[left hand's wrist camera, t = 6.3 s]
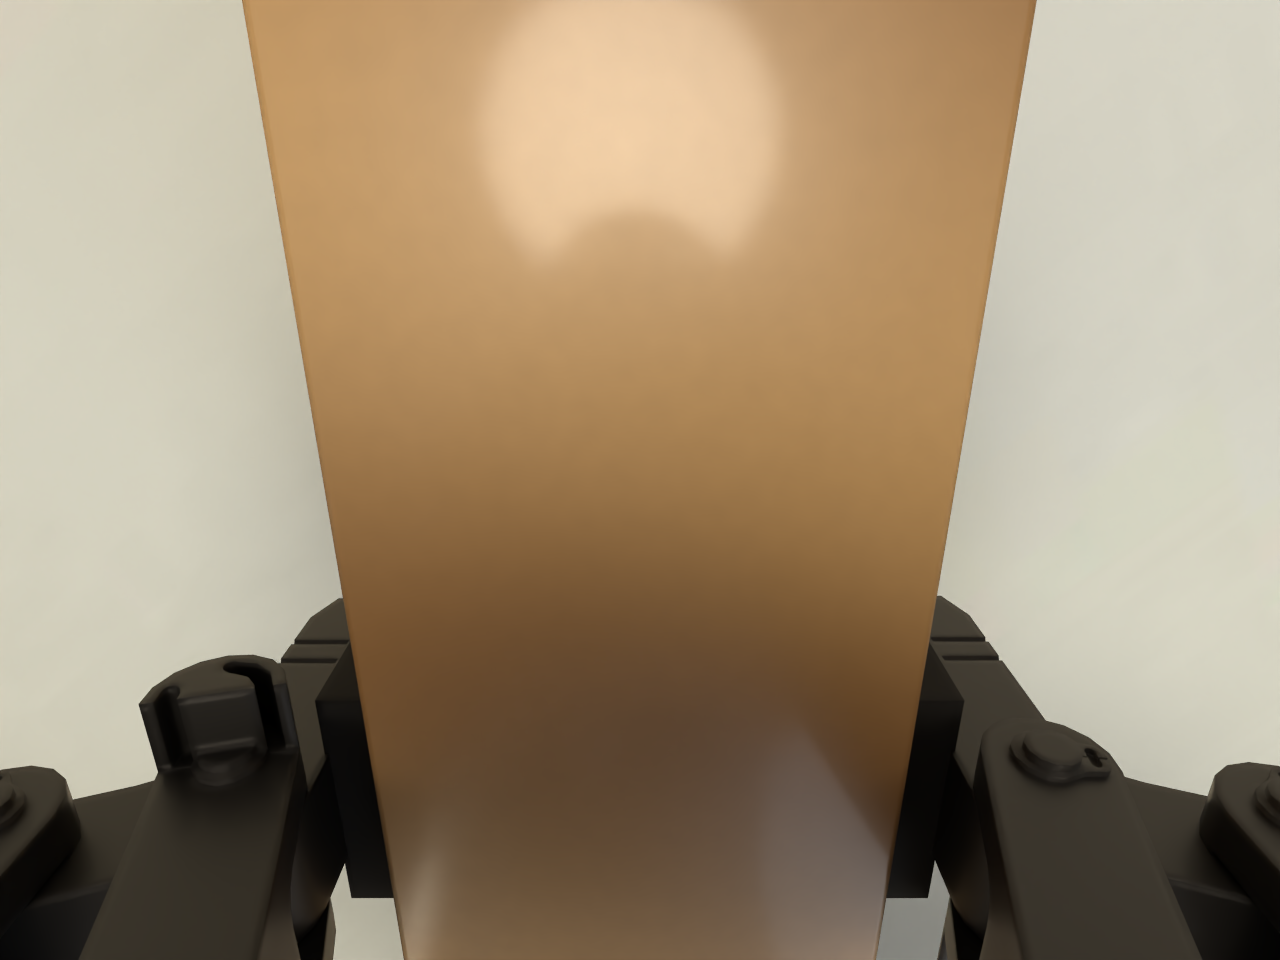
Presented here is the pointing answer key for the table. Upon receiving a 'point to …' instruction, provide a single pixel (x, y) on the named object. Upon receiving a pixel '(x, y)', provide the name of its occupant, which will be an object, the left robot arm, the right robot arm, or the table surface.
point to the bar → (639, 439)
